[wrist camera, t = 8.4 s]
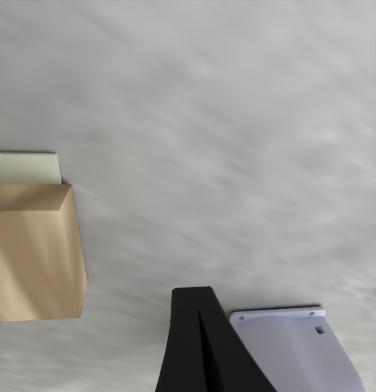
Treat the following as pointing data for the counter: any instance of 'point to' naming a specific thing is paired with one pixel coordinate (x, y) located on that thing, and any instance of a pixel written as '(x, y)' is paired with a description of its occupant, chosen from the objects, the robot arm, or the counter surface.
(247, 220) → the counter surface
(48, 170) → the sage mat
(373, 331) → the counter surface
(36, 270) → the maple tile
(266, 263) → the counter surface
